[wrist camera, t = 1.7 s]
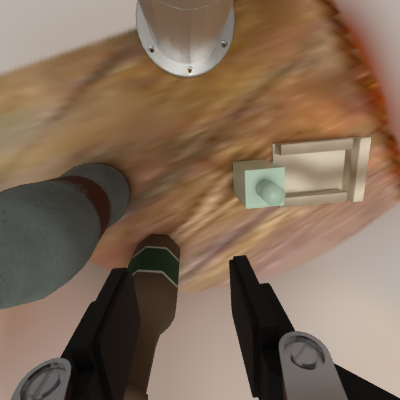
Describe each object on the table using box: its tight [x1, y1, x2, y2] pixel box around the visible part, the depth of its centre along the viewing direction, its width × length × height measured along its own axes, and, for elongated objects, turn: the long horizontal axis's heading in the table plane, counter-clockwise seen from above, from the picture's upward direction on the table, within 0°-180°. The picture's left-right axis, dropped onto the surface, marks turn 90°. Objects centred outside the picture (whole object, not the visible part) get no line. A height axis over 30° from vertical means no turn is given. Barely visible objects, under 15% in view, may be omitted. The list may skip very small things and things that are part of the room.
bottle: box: [233, 159, 285, 209], centre depth 32 cm, size 5×5×12 cm
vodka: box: [0, 163, 130, 309], centre depth 22 cm, size 9×9×30 cm
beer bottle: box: [123, 235, 180, 400], centre depth 29 cm, size 8×8×24 cm
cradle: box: [272, 137, 371, 208], centre depth 36 cm, size 10×13×3 cm
